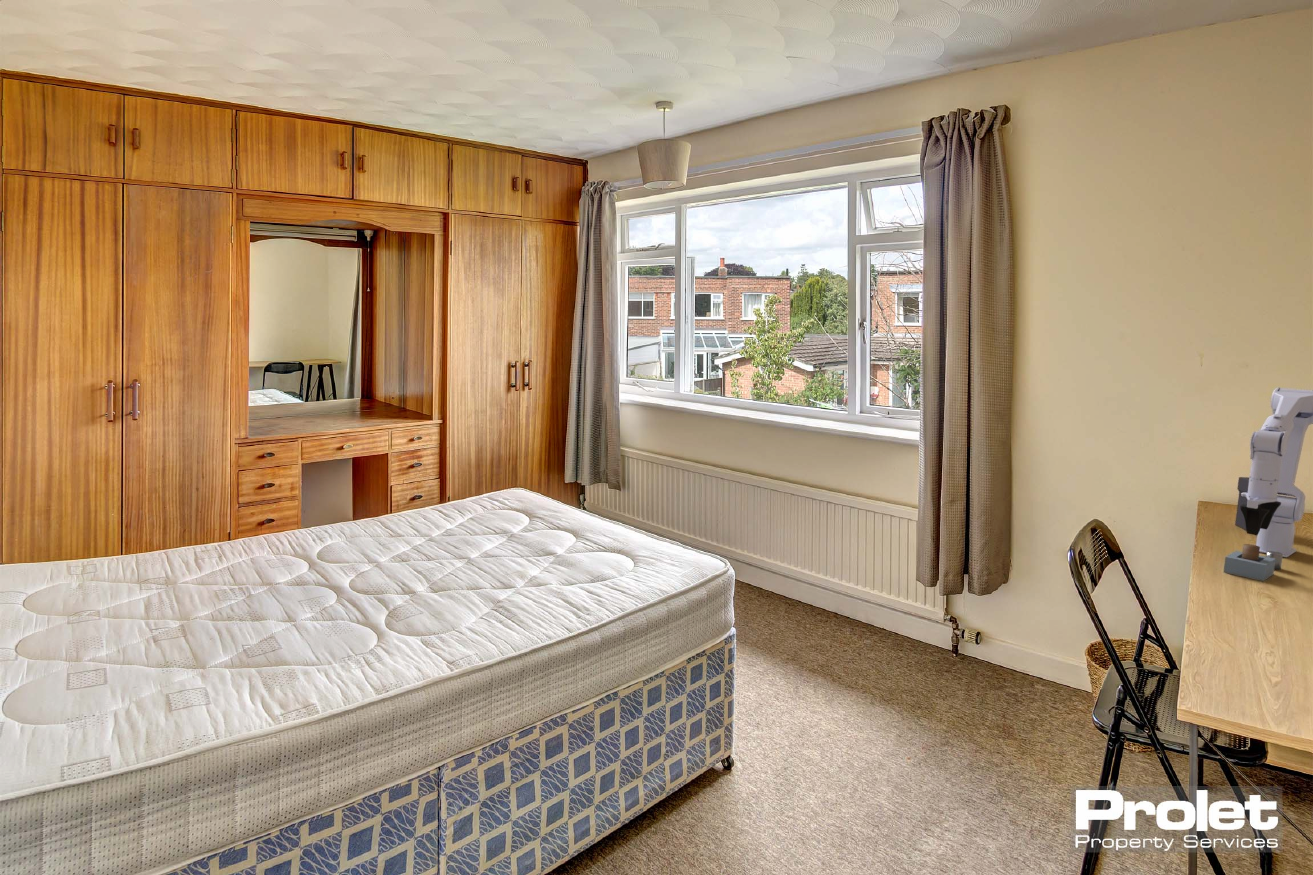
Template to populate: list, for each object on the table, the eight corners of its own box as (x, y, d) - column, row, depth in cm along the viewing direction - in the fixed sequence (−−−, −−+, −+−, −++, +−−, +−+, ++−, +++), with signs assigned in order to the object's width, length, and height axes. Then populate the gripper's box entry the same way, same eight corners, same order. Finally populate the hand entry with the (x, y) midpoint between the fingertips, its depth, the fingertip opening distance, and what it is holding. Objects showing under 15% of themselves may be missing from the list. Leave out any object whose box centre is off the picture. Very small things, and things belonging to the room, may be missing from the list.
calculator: (1269, 536, 216) (1276, 485, 214) (1252, 535, 217) (1259, 484, 215) (1248, 525, 227) (1254, 477, 225) (1232, 524, 228) (1238, 476, 225)
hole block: (1234, 565, 191) (1236, 550, 190) (1273, 574, 185) (1275, 558, 184) (1223, 572, 186) (1225, 556, 186) (1263, 581, 180) (1265, 565, 179)
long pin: (1242, 570, 188) (1245, 543, 187) (1258, 573, 185) (1261, 546, 184) (1237, 572, 186) (1241, 545, 185) (1253, 576, 183) (1257, 548, 182)
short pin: (1266, 565, 192) (1268, 550, 191) (1282, 568, 189) (1284, 553, 188) (1262, 567, 190) (1264, 552, 189) (1278, 571, 187) (1280, 555, 186)
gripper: (1253, 471, 194) (1246, 522, 196) (1234, 479, 185) (1228, 532, 187) (1288, 476, 188) (1280, 528, 190) (1270, 485, 179) (1263, 539, 182)
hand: (1257, 531), depth 189 cm, fingers open, 7 cm apart
